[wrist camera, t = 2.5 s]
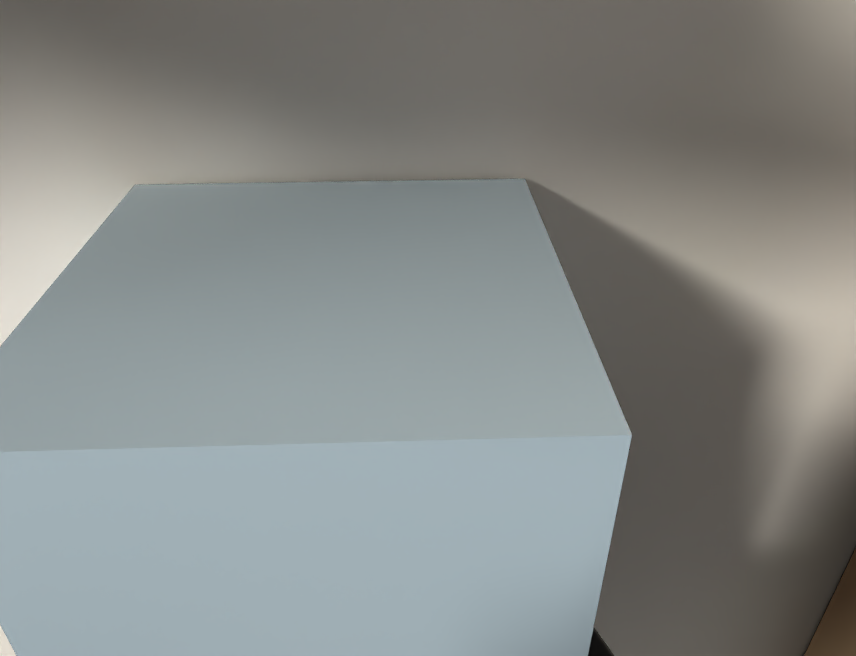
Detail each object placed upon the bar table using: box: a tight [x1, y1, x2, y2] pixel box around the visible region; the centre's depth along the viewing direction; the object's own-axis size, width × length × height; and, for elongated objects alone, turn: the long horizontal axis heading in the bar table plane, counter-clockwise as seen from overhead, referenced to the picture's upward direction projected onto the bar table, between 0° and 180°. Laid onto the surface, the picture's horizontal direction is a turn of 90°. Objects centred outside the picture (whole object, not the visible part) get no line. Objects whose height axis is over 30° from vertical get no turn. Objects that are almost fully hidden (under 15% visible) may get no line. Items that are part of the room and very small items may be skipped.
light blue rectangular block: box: [0, 179, 632, 656], centre depth 8 cm, size 10×4×4 cm, turn 0°
